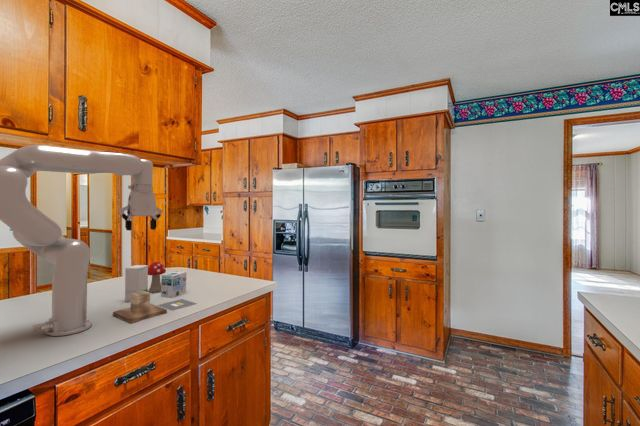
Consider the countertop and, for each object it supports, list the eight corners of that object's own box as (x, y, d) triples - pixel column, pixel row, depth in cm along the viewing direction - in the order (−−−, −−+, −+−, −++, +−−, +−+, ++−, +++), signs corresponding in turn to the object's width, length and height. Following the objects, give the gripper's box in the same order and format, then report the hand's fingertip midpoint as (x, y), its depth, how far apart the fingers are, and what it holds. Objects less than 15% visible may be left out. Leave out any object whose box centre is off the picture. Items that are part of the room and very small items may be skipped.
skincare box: (138, 302, 139) (138, 268, 139) (123, 302, 139) (124, 267, 139) (148, 297, 148) (148, 264, 147) (134, 296, 148) (135, 264, 147)
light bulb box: (172, 298, 147) (173, 275, 147) (160, 297, 148) (160, 274, 148) (186, 292, 157) (187, 271, 157) (175, 291, 159) (175, 270, 158)
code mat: (172, 311, 129) (172, 310, 129) (156, 305, 135) (156, 305, 135) (197, 304, 139) (197, 303, 139) (182, 299, 146) (182, 298, 146)
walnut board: (130, 323, 114) (130, 319, 114) (113, 315, 122) (113, 311, 122) (166, 313, 126) (166, 309, 126) (148, 306, 134) (148, 303, 134)
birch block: (136, 313, 120) (137, 295, 120) (130, 311, 123) (130, 293, 123) (149, 310, 124) (150, 293, 124) (143, 307, 127) (143, 291, 127)
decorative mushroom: (154, 288, 164) (154, 260, 163) (169, 289, 163) (169, 260, 162) (141, 293, 154) (141, 263, 153) (157, 294, 153) (158, 264, 153)
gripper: (123, 187, 120) (122, 231, 120) (167, 190, 134) (166, 229, 134) (115, 187, 124) (114, 230, 124) (158, 190, 138) (157, 228, 138)
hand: (141, 229), depth 129 cm, fingers open, 9 cm apart
